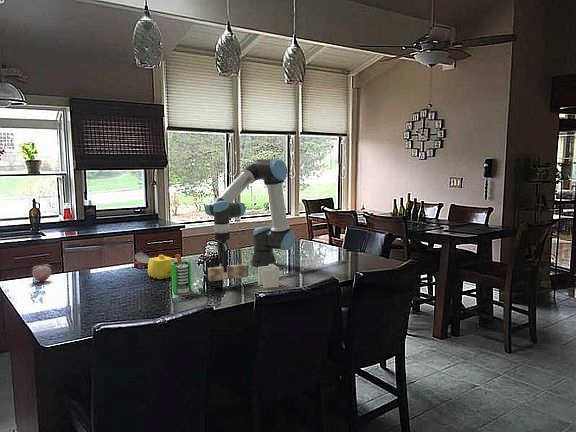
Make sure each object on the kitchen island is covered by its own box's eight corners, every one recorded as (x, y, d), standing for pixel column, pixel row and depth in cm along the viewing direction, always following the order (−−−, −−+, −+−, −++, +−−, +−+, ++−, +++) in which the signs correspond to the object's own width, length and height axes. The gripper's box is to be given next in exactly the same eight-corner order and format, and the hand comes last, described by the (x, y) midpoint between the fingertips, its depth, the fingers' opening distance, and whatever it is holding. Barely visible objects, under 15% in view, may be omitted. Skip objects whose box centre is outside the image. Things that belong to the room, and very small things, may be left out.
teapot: (182, 277, 261) (182, 256, 260) (163, 281, 253) (162, 259, 251) (163, 271, 275) (162, 251, 274) (143, 275, 267) (142, 254, 265)
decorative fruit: (48, 278, 260) (47, 260, 259) (54, 281, 254) (52, 262, 253) (29, 281, 254) (28, 263, 252) (34, 284, 248) (33, 265, 247)
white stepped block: (258, 284, 246) (257, 265, 244) (273, 282, 249) (272, 263, 248) (264, 288, 237) (263, 269, 236) (279, 286, 240) (279, 267, 239)
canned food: (147, 272, 294) (154, 257, 295) (147, 274, 284) (155, 258, 286) (129, 265, 291) (137, 250, 292) (129, 266, 281) (137, 251, 283)
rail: (209, 281, 238) (209, 269, 237) (208, 279, 241) (207, 267, 240) (248, 276, 245) (247, 265, 244) (246, 275, 248) (245, 263, 248)
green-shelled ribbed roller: (180, 294, 227) (178, 257, 225) (168, 292, 231) (166, 255, 229) (193, 290, 235) (192, 254, 233) (181, 288, 239) (180, 252, 237)
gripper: (210, 229, 245) (212, 274, 248) (218, 235, 230) (220, 282, 233) (225, 228, 248) (226, 272, 251) (233, 233, 233) (235, 280, 236)
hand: (224, 277), depth 242 cm, fingers closed on rail, 4 cm apart
